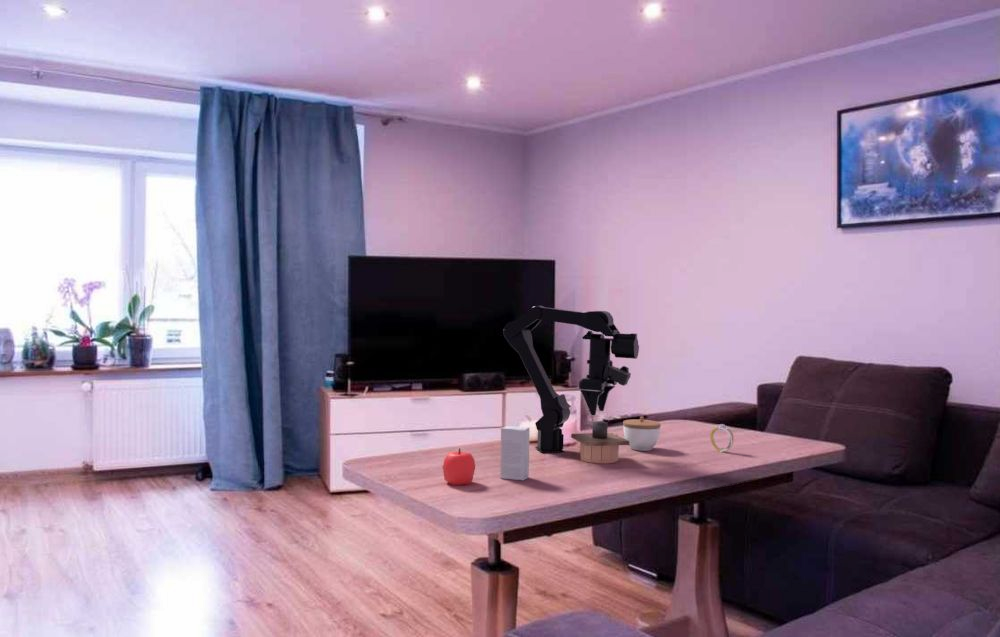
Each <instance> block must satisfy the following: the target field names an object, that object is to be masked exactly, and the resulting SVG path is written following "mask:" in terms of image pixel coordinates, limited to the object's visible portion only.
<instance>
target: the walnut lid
mask: <svg viewBox="0 0 1000 637" xmlns="http://www.w3.org/2000/svg"><path fill="white" fill-rule="evenodd" d="M608 427H609V426H608V421H607V422H606V421H601V420H600V421H599V420H598V421H592V427H591V428H592V432H590V433H587V432H586V433H571V435H570V438H572V439H573V440H575V441H577V442H578V443H582V444H584V445H586V446H607V445H619V446H629V441H628V440H626V439H625V438H624V437H622V436H619V435H617V434H615V433H613V432H608Z"/></svg>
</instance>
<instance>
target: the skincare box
mask: <svg viewBox="0 0 1000 637" xmlns="http://www.w3.org/2000/svg"><path fill="white" fill-rule="evenodd" d="M499 472H500V474H499V475H500V476H499V477H500V479H505V480H514V481H525V480H526V479H528V478H529V476H530V474H529V473H530V427H524V426H511V425H506V426H504V427H502V428H500V471H499Z"/></svg>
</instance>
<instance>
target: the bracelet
mask: <svg viewBox="0 0 1000 637" xmlns="http://www.w3.org/2000/svg"><path fill="white" fill-rule="evenodd" d="M717 431H725V432H726V433H727V435H728V438H729V439H728V440H729V443H728V444H727V445H728V446H727V447H726V448H723V447H719V446H718V444H717V443H716V441H715V435H716V433H717ZM734 438H735V437H734V434H733V432H732V431H731V429H729V428H728V426H727V425H725V423H724V424H723V423H720V424H716V427H715V428H714V429H712V430H711V432H710V442H711V445H712V446H713V447H714V449H715V450H717V451H719V452H720V453H722V452H723V453H724V452H727V451H729V450H730V449H731V448H732V446H733V445H734Z"/></svg>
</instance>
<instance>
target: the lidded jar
mask: <svg viewBox="0 0 1000 637" xmlns="http://www.w3.org/2000/svg"><path fill="white" fill-rule="evenodd" d="M644 418H645V417H644V416H640V417H639V419H634V418H633V419H626V420H623V422H622V425H623V431H622V432H623V438H624V439H626V440H628V441H629V445H628V446H629V447H630V448H629V449H631V450H633V451H642V452H643V451H644V452H645V451H646V452H648V451H651V450H652V449H653V448H654V447H656V445H657V443H658V442H659V438H660V433H661V422H659V421H657V420H651V419H644Z"/></svg>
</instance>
